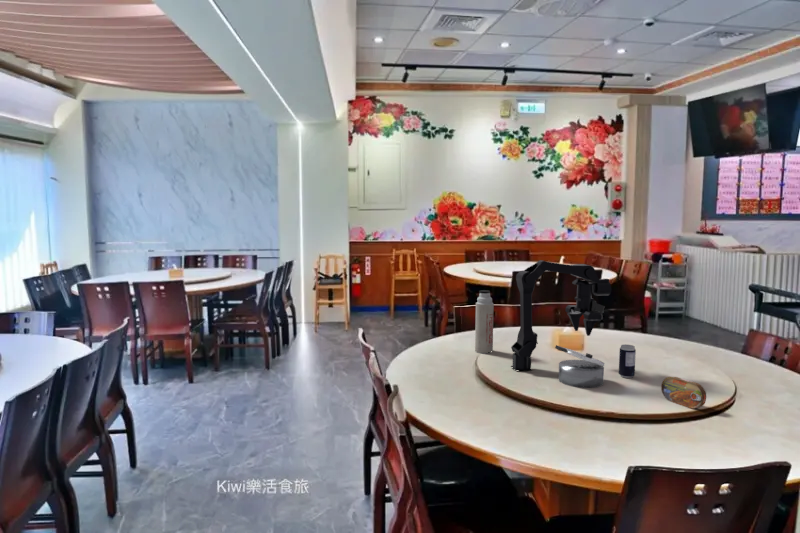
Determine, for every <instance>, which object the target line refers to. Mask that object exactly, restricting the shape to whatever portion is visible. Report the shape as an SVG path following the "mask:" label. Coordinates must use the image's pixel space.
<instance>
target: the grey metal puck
mask: <svg viewBox="0 0 800 533" xmlns="http://www.w3.org/2000/svg"><path fill="white" fill-rule="evenodd" d="M604 372H605V367H604V366H600V365H596V364H593V363H590V362H588V361H585V360H582V359H567V360H566V359H565V360H561V361H559V362H558V379H559V380H558V382H559V383H561V382H562V384H564V385H567V386H569V387H575V388H582V389H583V388H585V389H592V388H599V387H602V386H603V385H604V376H605V375H604Z"/></svg>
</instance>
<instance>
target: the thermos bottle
mask: <svg viewBox="0 0 800 533" xmlns="http://www.w3.org/2000/svg"><path fill="white" fill-rule="evenodd" d="M478 292H479V295H478V296H477V299H476V300H477V302H475V325H474V327H475V328H474V329H475V334H474V335H475V337H474V345H475V346H474V351H475V353H479V354H488V353H487V352H491V351H494V302H493V298H492V297H491V291H490V290H488V289H487V290H485V289H483V290H478Z"/></svg>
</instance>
